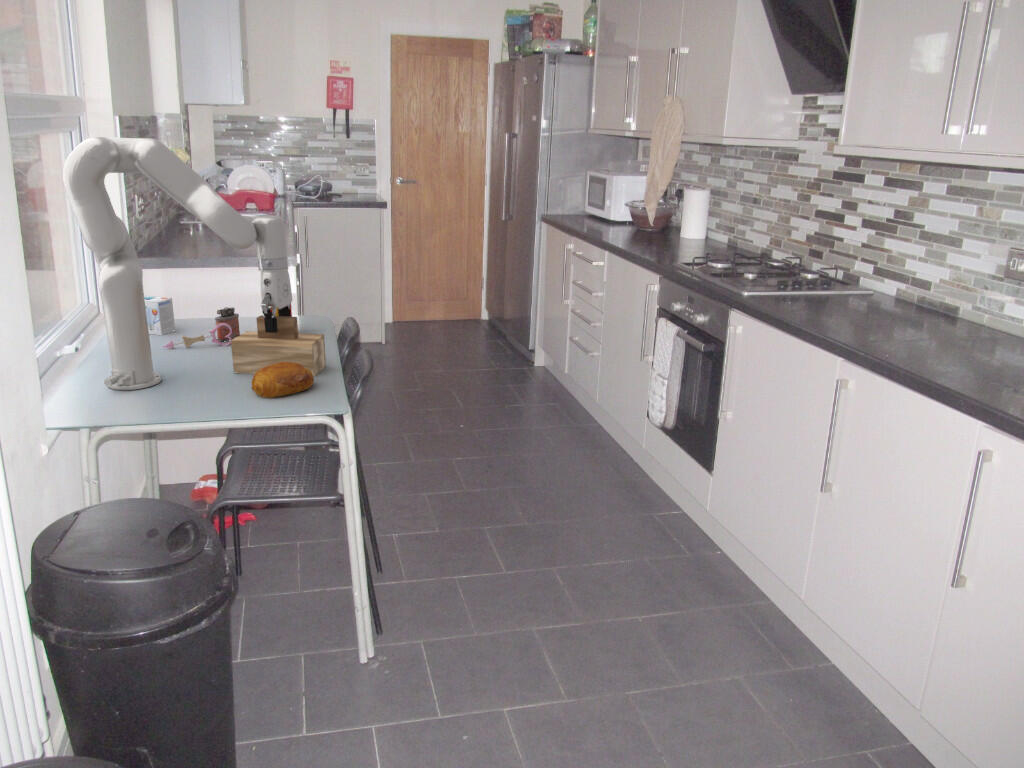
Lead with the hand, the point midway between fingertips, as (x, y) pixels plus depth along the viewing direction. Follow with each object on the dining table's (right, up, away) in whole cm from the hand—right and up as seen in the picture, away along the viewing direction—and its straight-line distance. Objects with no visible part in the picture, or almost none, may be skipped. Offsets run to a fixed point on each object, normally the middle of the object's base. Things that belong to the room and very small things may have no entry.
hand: (278, 327), depth 218 cm
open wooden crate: (0, -11, +3) cm, 12 cm away
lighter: (-24, -2, +32) cm, 41 cm away
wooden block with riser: (0, -3, +1) cm, 4 cm away
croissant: (+4, -17, -12) cm, 21 cm away
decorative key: (-31, -4, +24) cm, 40 cm away
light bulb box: (-51, +1, +41) cm, 65 cm away
